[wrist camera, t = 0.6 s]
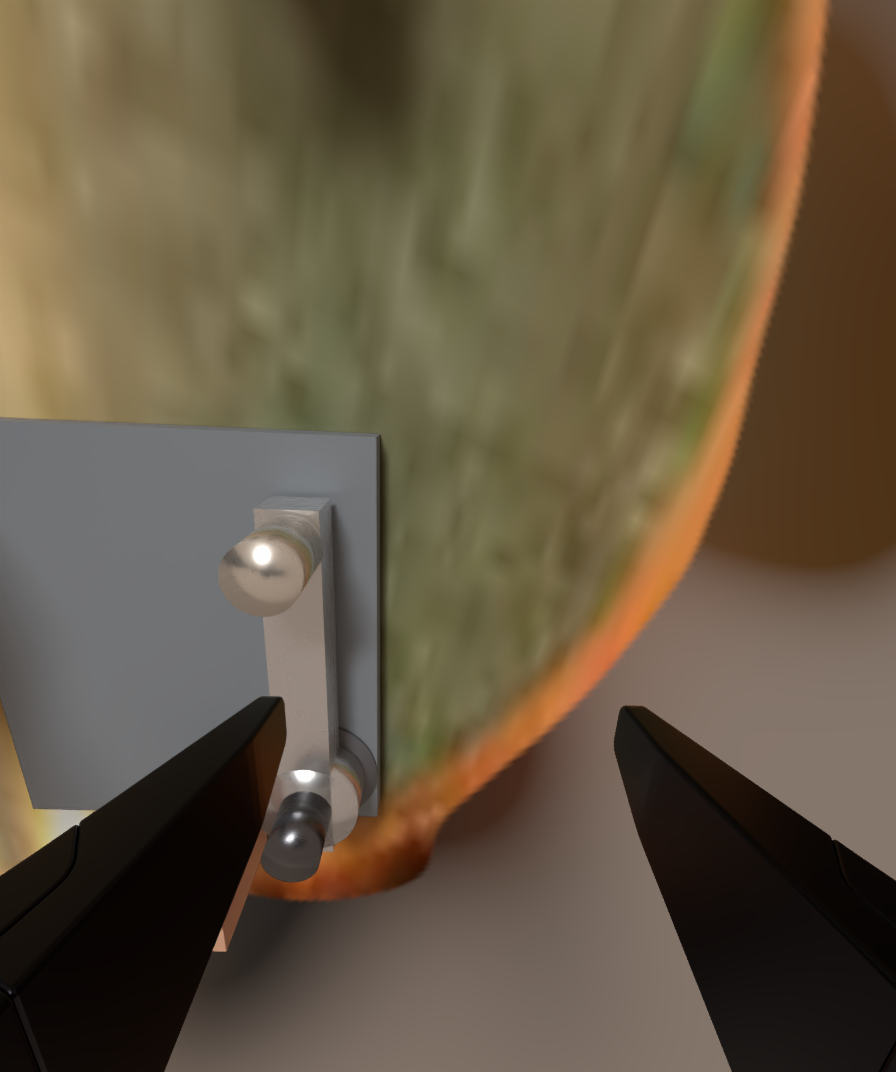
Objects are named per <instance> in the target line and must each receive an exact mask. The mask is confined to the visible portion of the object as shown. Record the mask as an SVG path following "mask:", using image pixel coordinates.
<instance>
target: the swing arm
mask: <svg viewBox="0 0 896 1072" xmlns="http://www.w3.org/2000/svg"><path fill="white" fill-rule="evenodd" d="M253 511H254V523H255V530H254V531H253V532H251V533H250V534H249V535H248V536H246V537H245V538H244V539H243V540H241V541H240V542H239V543H238V544H236V545H235V546H234V547H233V548H231V549H230V550H229V551H228V552H227V553H226V554H225V555H224V557H223V558H222V560H221V562H220V565H219V569H218V581H219V585H220V588H221V590H222V592H223V594H224V596H225V597H226V598H227V600H228V601H229V602H230V603H231V604H232V605H233V606H235V607H236V608H237V609H239V610H241V611H242V612H245V613H247V614H250V615H253V616H259V617H263V625H264V637H265V648H266V660H267V671H268V682H269V694H270V696H280V697H282V698H283V700H284V703H285V715H286V728H287V738H286V744H285V748H284V752H283V755H282V759H281V762H280V766H279V769H278V773H277V776H276V780H275V783H274V787H273V790H272V794H271V797H270V801H269V805H268V808H267V812H266V815H265V818H264V822H263V825H262V830H263V831H264V832H265V833H266V834H267V835H269V836H268V839H267V842H266V844H265V847H264V850H263V852H262V855H261V864H262V866H263V868H264V870H265V871H266V872H267V873H268V874H269V875H270V876H272V877H274V878H276V879H278V880H281V881H285V882H300V881H304V880H306V879H308V878H310V877H312V876H313V875H314V874H315V873H316V871H317V869H318V867H319V863H320V859H321V855H322V851H323V852H334V847H335V844H337V843H339V842H340V841H342V840H343V839H345V838H346V837H347V836H348V835H349V834H350V833H351V831H352V830H353V828H354V826H355V824H356V821H357V817H358V812H359V806H360V801H361V796H362V791H363V786H364V772H363V768H362V766H361V764H360V762H359V760H358V759H357V758H356V757H355V755H354V754H353V753H352V752H350V751H349V750H348V749H346V748H345V747H343V746H342V745H340V744H339V718H338V688H337V659H336V629H335V600H334V571H333V541H332V512H331V498H309V497H284V496H271V497H270V498H268V499H267V500H265V501H264V502H262V503H261V504H259V505H258V506H256V507H255V508H254V509H253Z"/></svg>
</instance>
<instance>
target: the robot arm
mask: <svg viewBox="0 0 896 1072" xmlns="http://www.w3.org/2000/svg"><path fill="white" fill-rule="evenodd" d="M286 738H287V728H286V715H285V703H284V700H283V698H282V697H280V696H260V697H258V698H257V699H255V700H254V701H252V702H251V703H250V704H248V705H247V706H245V707H244V708H242V709H241V710H240V711H238V712H237V713H235V714H234V715H232V716H231V717H230V718H228V719H227V720H225V721H224V722H222V723H221V724H219V725H218V726H217V727H215V728H214V729H212V730H211V731H209V732H208V733H207V734H205V735H204V736H202V737H201V738H199V739H198V740H197V741H195V742H194V743H192V744H191V745H189V746H188V747H186V748H185V749H184V750H182V751H181V752H179V753H178V754H176V755H175V756H174V757H172V758H171V759H169V760H168V761H166V762H165V763H164V764H162V765H161V766H159V767H158V768H156V769H155V770H154V771H152V772H151V773H149V774H148V775H146V776H145V777H143V778H142V779H141V780H139V781H138V782H136V783H135V784H133V785H132V786H131V787H129V788H128V789H126V790H125V791H123V792H122V793H121V794H119V795H118V796H116V797H115V798H113V799H112V800H110V801H109V802H108V803H106V804H105V805H103V806H102V807H100V808H99V809H98V810H96V811H95V812H93V813H92V814H90V815H89V816H88V817H86V818H85V819H83V820H82V821H81V822H80V824H79V826H78V825H75V826H73V827H71V828H70V829H69V830H67V831H66V832H64V833H63V834H61V835H60V836H59V837H57V838H56V839H54V840H53V841H51V842H50V843H48V844H47V845H46V846H44V847H43V848H41V849H40V850H38V851H37V852H35V853H34V854H32V855H31V856H29V857H28V858H26V859H25V860H23V861H22V862H20V863H19V864H17V865H16V866H14V867H13V868H11V869H10V870H8V871H7V872H5V873H4V874H2V875H1V876H0V1072H164V1071H165V1068H166V1066H167V1063H168V1061H169V1058H170V1056H171V1053H172V1051H173V1048H174V1046H175V1043H176V1041H177V1038H178V1036H179V1033H180V1031H181V1028H182V1026H183V1023H184V1021H185V1018H186V1016H187V1013H188V1011H189V1008H190V1006H191V1004H192V1001H193V999H194V996H195V993H196V991H197V989H198V986H199V983H200V981H201V979H202V976H203V974H204V971H205V968H206V966H207V963H208V961H209V959H210V956H211V953H212V951H213V949H214V946H215V944H216V941H217V939H218V936H219V934H220V931H221V929H222V926H223V924H224V921H225V919H226V916H227V914H228V911H229V909H230V906H231V904H232V901H233V899H234V896H235V894H236V891H237V889H238V886H239V884H240V881H241V879H242V876H243V874H244V871H245V869H246V866H247V864H248V861H249V859H250V856H251V854H252V851H253V849H254V846H255V844H256V841H257V839H258V836H259V833H260V830H261V828H262V825H263V822H264V818H265V815H266V812H267V808H268V805H269V801H270V797H271V794H272V790H273V787H274V783H275V780H276V776H277V773H278V769H279V766H280V762H281V759H282V755H283V752H284V748H285V744H286ZM614 751H615V755H616V759H617V762H618V766H619V769H620V773H621V777H622V780H623V783H624V787H625V791H626V794H627V797H628V801H629V805H630V808H631V812H632V815H633V819H634V822H635V825H636V829H637V832H638V835H639V838H640V840H641V843H642V846H643V848H644V851H645V853H646V856H647V858H648V861H649V864H650V866H651V869H652V871H653V873H654V876H655V879H656V881H657V884H658V886H659V889H660V891H661V894H662V896H663V899H664V901H665V904H666V906H667V909H668V912H669V914H670V916H671V919H672V922H673V924H674V927H675V929H676V932H677V934H678V937H679V939H680V942H681V944H682V947H683V949H684V952H685V955H686V956H687V960H688V962H689V964H690V967H691V970H692V972H693V975H694V977H695V980H696V982H697V985H698V987H699V990H700V992H701V995H702V997H703V1000H704V1002H705V1005H706V1007H707V1010H708V1012H709V1015H710V1017H711V1020H712V1023H713V1025H714V1028H715V1030H716V1033H717V1035H718V1038H719V1040H720V1043H721V1045H722V1048H723V1050H724V1053H725V1055H726V1058H727V1061H728V1063H729V1066H730V1068H731V1071H732V1072H896V880H894V879H893V878H891V877H890V876H888V875H887V874H885V873H884V872H882V871H881V870H879V869H878V868H876V867H875V866H873V865H872V864H870V863H869V862H867V861H866V860H864V859H863V858H861V857H860V856H859V855H857V854H856V853H854V852H853V851H852V850H850V849H849V848H847V847H846V846H844V845H843V844H841V843H840V842H838V841H837V840H832V839H831V837H830V836H829V835H828V834H827V833H825V832H824V831H822V830H821V829H820V828H818V827H817V826H815V825H814V824H812V823H811V822H810V821H808V820H807V819H805V818H804V817H802V816H801V815H800V814H798V813H797V812H795V811H793V810H792V809H791V808H789V807H788V806H787V805H785V804H784V803H782V802H781V801H779V800H778V799H777V798H775V797H773V796H772V795H771V794H769V793H768V792H766V791H765V790H764V789H762V788H761V787H759V786H758V785H756V784H755V783H754V782H752V781H751V780H749V779H748V778H746V777H745V776H743V775H742V774H740V773H739V772H738V771H736V770H735V769H733V768H732V767H731V766H729V765H728V764H726V763H725V762H723V761H722V760H720V759H719V758H717V757H716V756H715V755H713V754H712V753H710V752H709V751H707V750H706V749H704V748H703V747H702V746H700V745H699V744H697V743H696V742H694V741H693V740H692V739H690V738H689V737H687V736H686V735H685V734H683V733H682V732H680V731H679V730H677V729H676V728H674V727H673V726H672V725H670V724H669V723H667V722H666V721H664V720H663V719H661V718H660V717H659V716H657V715H656V714H654V713H653V712H651V711H650V710H649V709H647V708H645V707H643V706H623V707H622V708H621V709H620V712H619V716H618V721H617V727H616V732H615V737H614Z"/></svg>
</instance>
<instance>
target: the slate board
mask: <svg viewBox="0 0 896 1072" xmlns="http://www.w3.org/2000/svg"><path fill="white" fill-rule="evenodd" d="M271 496H284V497H309V498H331V512H332V541H333V571H334V600H335V629H336V659H337V688H338V718H339V744H340V745H342V746H343V747H345V748H346V749H348V750H349V751H350V752H352V753H353V754H354V755H355V757H356V758H357V759H358V760H359V762H360V764H361V766H362V768H363V772H364V786H363V791H362V796H361V801H360V806H359V812H358V816H369V817H377V816H378V809H379V803H380V434H369V433H346V432H323V431H300V430H277V429H255V428H232V427H209V426H186V425H164V424H141V423H118V422H95V421H72V420H50V419H27V418H4V417H0V699H1V703H2V706H3V709H4V713H5V716H6V719H7V723H8V726H9V729H10V732H11V736H12V739H13V742H14V746H15V749H16V752H17V756H18V759H19V762H20V766H21V769H22V772H23V776H24V779H25V782H26V786H27V789H28V792H29V796H30V799H31V802H32V806H33V809H65V810H98V809H99V808H100V807H102V806H103V805H105V804H106V803H108V802H109V801H110V800H112V799H113V798H115V797H116V796H118V795H119V794H121V793H122V792H123V791H125V790H126V789H128V788H129V787H131V786H132V785H133V784H135V783H136V782H138V781H139V780H141V779H142V778H143V777H145V776H146V775H148V774H149V773H151V772H152V771H154V770H155V769H156V768H158V767H159V766H161V765H162V764H164V763H165V762H166V761H168V760H169V759H171V758H172V757H174V756H175V755H176V754H178V753H179V752H181V751H182V750H184V749H185V748H186V747H188V746H189V745H191V744H192V743H194V742H195V741H197V740H198V739H199V738H201V737H202V736H204V735H205V734H207V733H208V732H209V731H211V730H212V729H214V728H215V727H217V726H218V725H219V724H221V723H222V722H224V721H225V720H227V719H228V718H230V717H231V716H232V715H234V714H235V713H237V712H238V711H240V710H241V709H242V708H244V707H245V706H247V705H248V704H250V703H251V702H252V701H254V700H255V699H257V698H258V697H260V696H270V694H269V682H268V671H267V660H266V648H265V637H264V625H263V617H259V616H253V615H250V614H247V613H245V612H242V611H241V610H239V609H237V608H236V607H235V606H233V605H232V604H231V603H230V602H229V601H228V600H227V598H226V597H225V596H224V594H223V592H222V590H221V588H220V585H219V581H218V569H219V565H220V562H221V560H222V558H223V557H224V555H225V554H226V553H227V552H228V551H229V550H230V549H231V548H233V547H234V546H235V545H236V544H238V543H239V542H240V541H241V540H243V539H244V538H245V537H246V536H248V535H249V534H250V533H251V532H253V531H254V530H255V523H254V511H253V509H254V508H255V507H256V506H258V505H259V504H261V503H262V502H264V501H265V500H267V499H268V498H270V497H271Z"/></svg>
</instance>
